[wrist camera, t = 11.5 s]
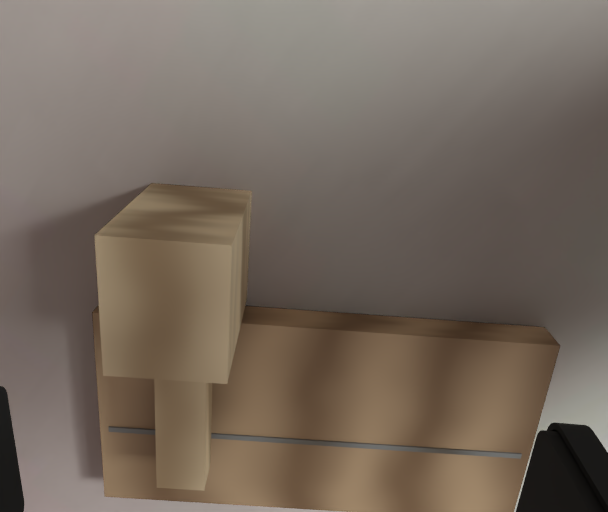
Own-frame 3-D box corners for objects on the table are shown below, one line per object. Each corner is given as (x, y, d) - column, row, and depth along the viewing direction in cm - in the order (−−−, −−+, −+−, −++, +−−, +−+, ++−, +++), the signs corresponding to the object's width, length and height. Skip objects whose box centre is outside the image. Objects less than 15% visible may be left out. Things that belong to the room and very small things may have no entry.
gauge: (251, 190, 28) (231, 245, 20) (241, 425, 33) (222, 538, 25) (151, 183, 28) (94, 235, 20) (156, 420, 33) (112, 531, 25)
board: (544, 327, 30) (561, 346, 28) (499, 495, 35) (511, 523, 33) (105, 296, 30) (91, 313, 28) (115, 471, 34) (104, 497, 32)
